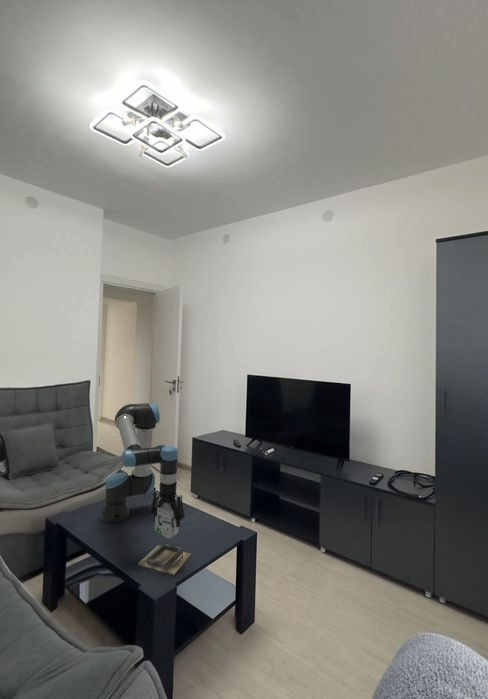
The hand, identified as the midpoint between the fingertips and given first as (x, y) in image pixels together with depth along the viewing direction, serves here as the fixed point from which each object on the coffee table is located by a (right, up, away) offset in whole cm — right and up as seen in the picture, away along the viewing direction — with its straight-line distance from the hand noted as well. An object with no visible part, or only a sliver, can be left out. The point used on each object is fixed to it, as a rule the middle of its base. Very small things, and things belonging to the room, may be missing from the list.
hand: (166, 531), depth 157 cm
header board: (-1, -13, 0) cm, 13 cm away
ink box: (0, -1, 0) cm, 1 cm away
